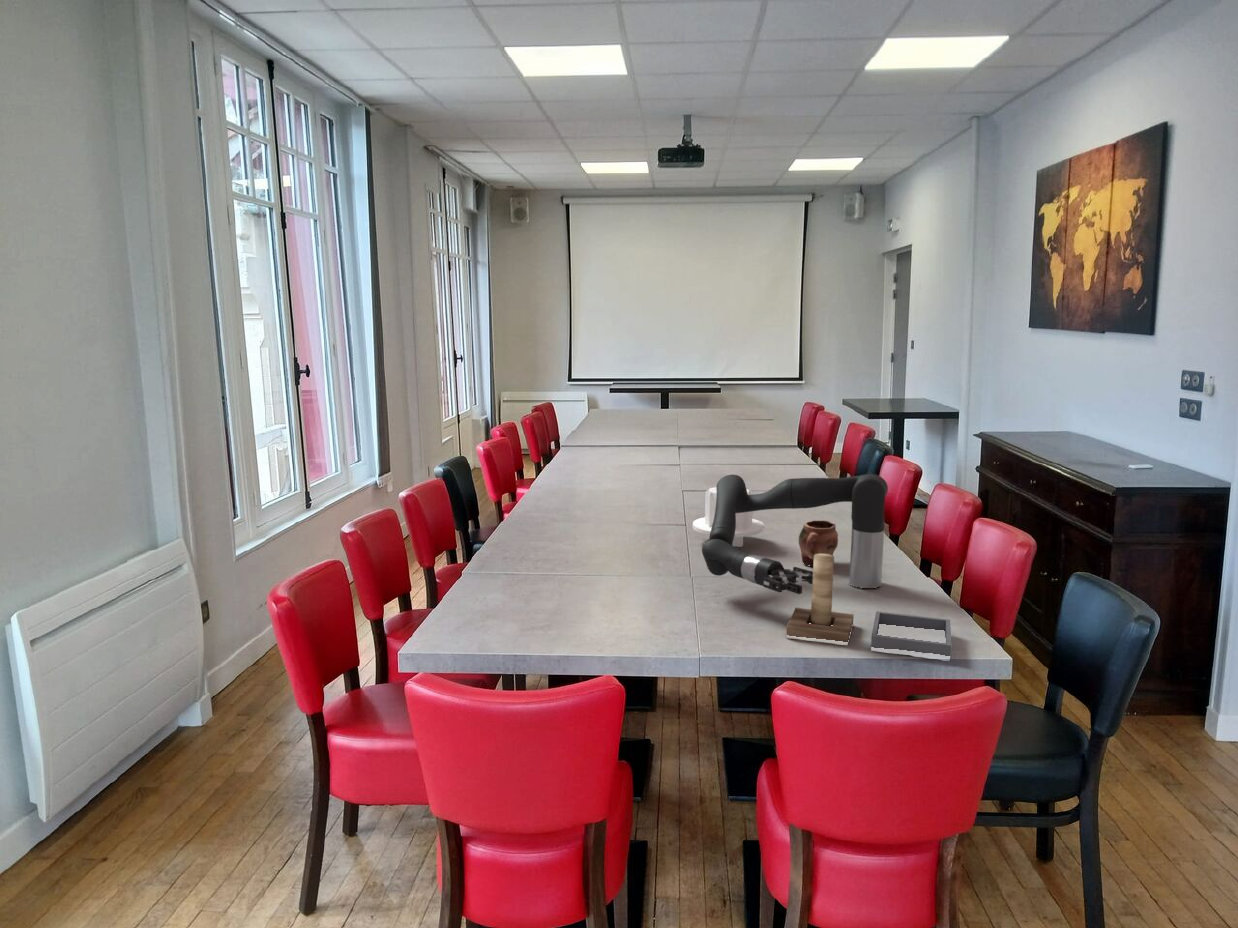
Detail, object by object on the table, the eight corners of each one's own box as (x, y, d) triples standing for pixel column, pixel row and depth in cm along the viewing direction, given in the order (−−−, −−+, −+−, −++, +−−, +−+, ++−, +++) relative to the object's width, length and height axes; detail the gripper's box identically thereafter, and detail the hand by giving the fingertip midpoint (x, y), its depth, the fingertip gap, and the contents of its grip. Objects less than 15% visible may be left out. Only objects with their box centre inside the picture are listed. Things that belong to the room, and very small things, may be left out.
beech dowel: (811, 626, 223) (815, 552, 219) (831, 629, 221) (835, 554, 217) (809, 633, 218) (812, 558, 214) (829, 636, 217) (832, 560, 213)
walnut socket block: (795, 618, 229) (795, 607, 229) (853, 625, 224) (853, 614, 224) (786, 638, 215) (786, 626, 215) (847, 646, 210) (848, 634, 210)
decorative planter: (829, 576, 265) (831, 533, 262) (790, 571, 270) (792, 528, 267) (842, 559, 282) (844, 518, 280) (805, 555, 288) (807, 514, 285)
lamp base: (761, 534, 314) (763, 483, 310) (766, 553, 289) (767, 499, 286) (692, 532, 316) (693, 482, 313) (691, 551, 292) (692, 497, 288)
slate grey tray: (875, 625, 224) (876, 611, 223) (949, 634, 218) (950, 619, 217) (870, 651, 207) (871, 635, 206) (950, 661, 201) (951, 645, 200)
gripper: (778, 578, 238) (827, 593, 226) (744, 590, 229) (793, 606, 217) (779, 552, 236) (828, 566, 224) (745, 563, 227) (795, 578, 215)
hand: (811, 586), depth 221 cm, fingers open, 8 cm apart
